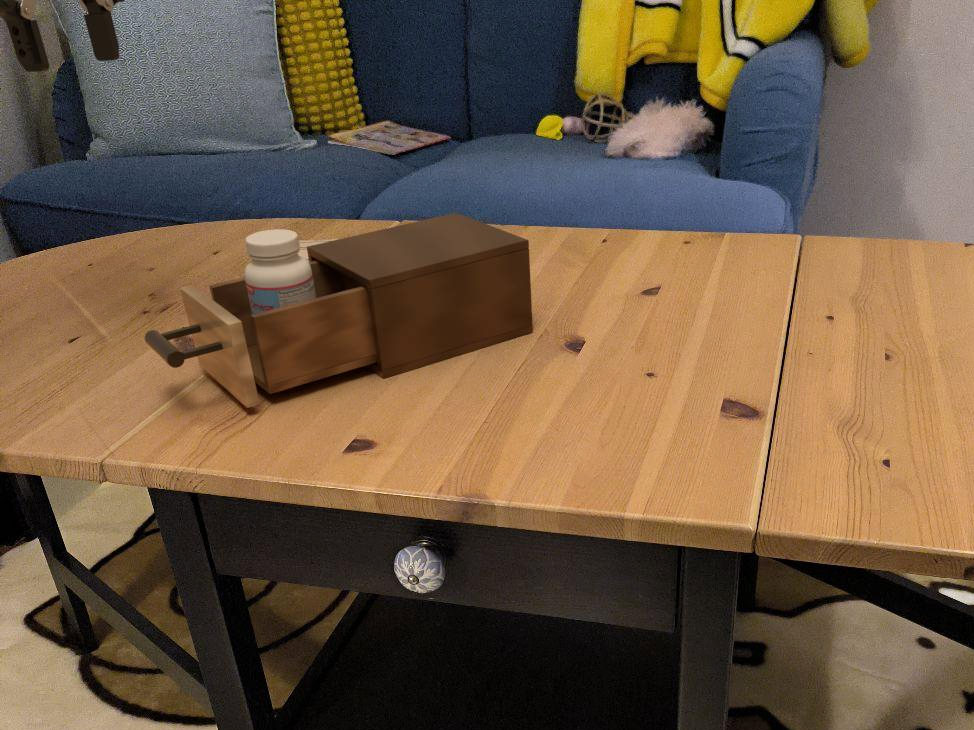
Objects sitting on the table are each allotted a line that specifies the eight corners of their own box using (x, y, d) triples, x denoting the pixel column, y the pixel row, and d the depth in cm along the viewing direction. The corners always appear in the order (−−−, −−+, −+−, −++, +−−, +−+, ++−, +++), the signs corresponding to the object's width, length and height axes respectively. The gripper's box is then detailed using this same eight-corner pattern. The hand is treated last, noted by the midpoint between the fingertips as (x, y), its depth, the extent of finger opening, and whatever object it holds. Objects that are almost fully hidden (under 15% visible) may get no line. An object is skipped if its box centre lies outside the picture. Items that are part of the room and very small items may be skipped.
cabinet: (383, 378, 92) (369, 280, 87) (322, 337, 101) (306, 246, 96) (533, 332, 100) (528, 239, 95) (463, 298, 110) (456, 212, 104)
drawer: (192, 424, 83) (169, 339, 79) (148, 379, 92) (125, 300, 88) (409, 359, 94) (399, 280, 89) (351, 323, 102) (339, 249, 98)
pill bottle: (251, 352, 94) (226, 235, 87) (309, 336, 96) (288, 222, 90) (276, 371, 89) (251, 251, 83) (336, 354, 92) (316, 236, 86)
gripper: (-26, -178, 68) (47, 74, 77) (112, -163, 80) (162, 55, 88) (-103, -167, 71) (-24, 76, 79) (41, -154, 82) (97, 57, 91)
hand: (74, 65), depth 84 cm, fingers open, 8 cm apart
